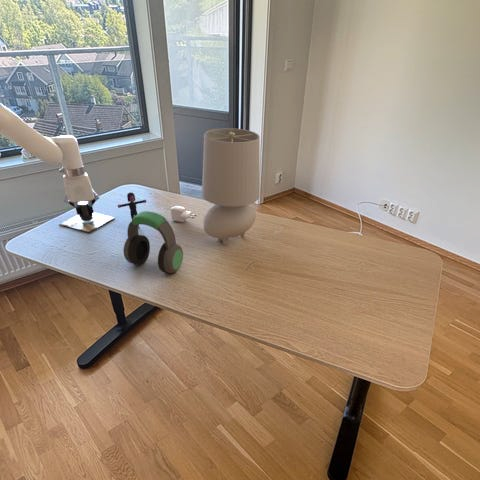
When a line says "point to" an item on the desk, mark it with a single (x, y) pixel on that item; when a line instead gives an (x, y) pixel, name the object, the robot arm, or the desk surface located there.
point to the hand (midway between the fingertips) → (86, 214)
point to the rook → (85, 211)
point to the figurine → (132, 204)
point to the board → (87, 223)
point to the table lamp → (230, 181)
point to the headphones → (140, 246)
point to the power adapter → (180, 214)
